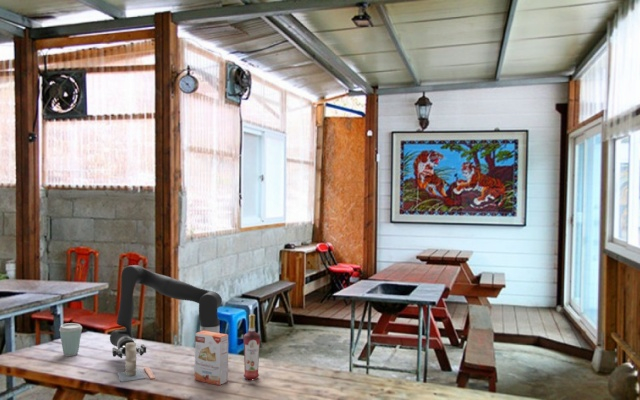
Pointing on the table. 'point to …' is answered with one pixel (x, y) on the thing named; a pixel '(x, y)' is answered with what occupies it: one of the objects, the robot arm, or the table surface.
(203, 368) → the cracker box
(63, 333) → the disposable coffee cup
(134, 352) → the beige tall cylinder
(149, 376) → the orange long flat bar
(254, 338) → the liquor
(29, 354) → the table surface
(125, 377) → the mat
